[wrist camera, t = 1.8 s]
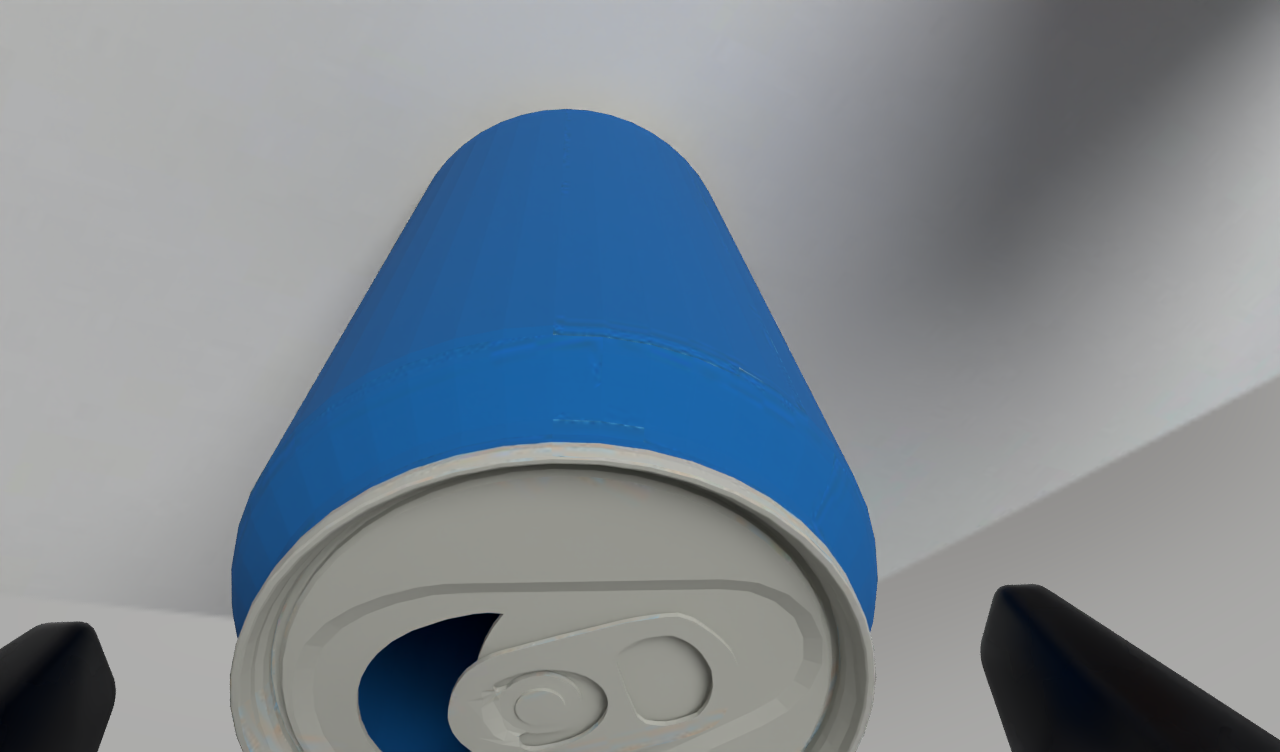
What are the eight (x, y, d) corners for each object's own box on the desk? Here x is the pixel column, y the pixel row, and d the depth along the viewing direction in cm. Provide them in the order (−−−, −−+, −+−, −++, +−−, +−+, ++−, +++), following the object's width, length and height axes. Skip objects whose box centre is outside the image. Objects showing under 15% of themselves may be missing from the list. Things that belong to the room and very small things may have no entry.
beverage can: (367, 150, 17) (5, 527, 6) (683, 62, 16) (881, 302, 6) (477, 419, 20) (361, 984, 9) (745, 350, 19) (950, 857, 9)
